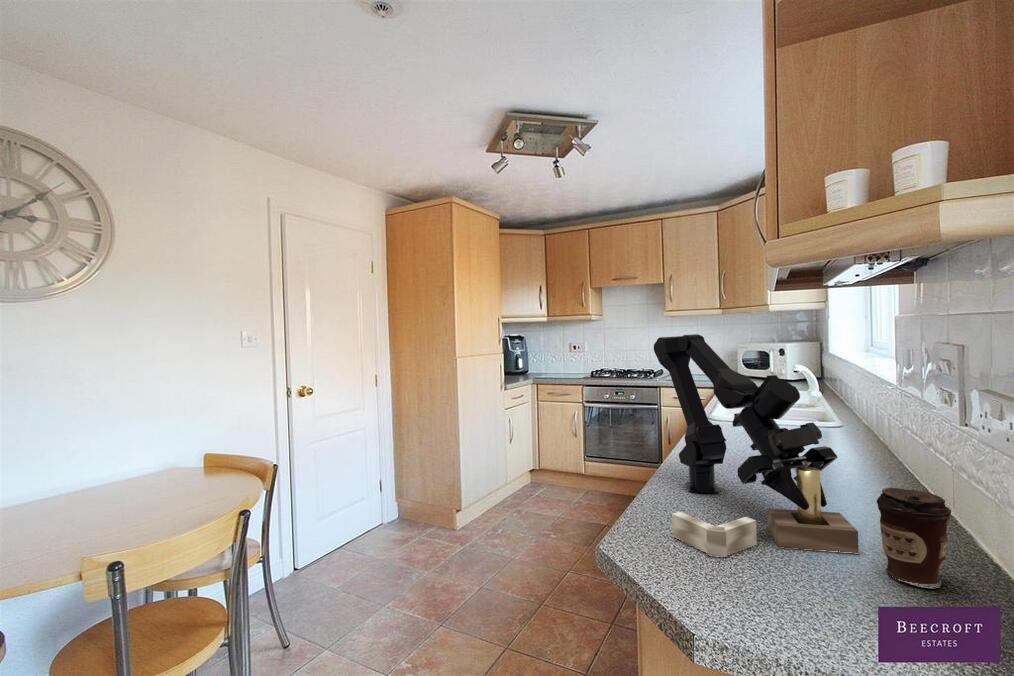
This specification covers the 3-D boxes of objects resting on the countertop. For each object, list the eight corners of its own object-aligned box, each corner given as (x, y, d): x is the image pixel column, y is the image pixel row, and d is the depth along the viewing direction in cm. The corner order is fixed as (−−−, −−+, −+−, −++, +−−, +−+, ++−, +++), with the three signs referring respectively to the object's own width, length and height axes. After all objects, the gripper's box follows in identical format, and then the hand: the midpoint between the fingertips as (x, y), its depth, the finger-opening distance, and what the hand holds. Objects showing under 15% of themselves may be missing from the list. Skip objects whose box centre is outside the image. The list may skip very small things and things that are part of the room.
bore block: (767, 528, 90) (766, 508, 90) (840, 534, 87) (839, 512, 87) (778, 547, 83) (778, 525, 83) (858, 554, 79) (858, 531, 79)
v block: (672, 534, 90) (671, 510, 90) (755, 542, 85) (754, 517, 85) (673, 552, 83) (672, 527, 83) (763, 562, 78) (762, 535, 78)
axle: (795, 535, 87) (793, 465, 87) (818, 537, 86) (816, 466, 86) (801, 544, 84) (799, 471, 83) (825, 546, 83) (823, 472, 82)
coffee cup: (923, 599, 66) (920, 508, 66) (864, 571, 74) (861, 489, 74) (966, 588, 68) (964, 499, 68) (904, 561, 76) (902, 482, 76)
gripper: (746, 413, 86) (800, 493, 75) (826, 404, 91) (888, 478, 80) (717, 446, 94) (763, 522, 83) (793, 436, 98) (845, 507, 88)
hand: (816, 507), depth 83 cm, fingers closed on axle, 4 cm apart
